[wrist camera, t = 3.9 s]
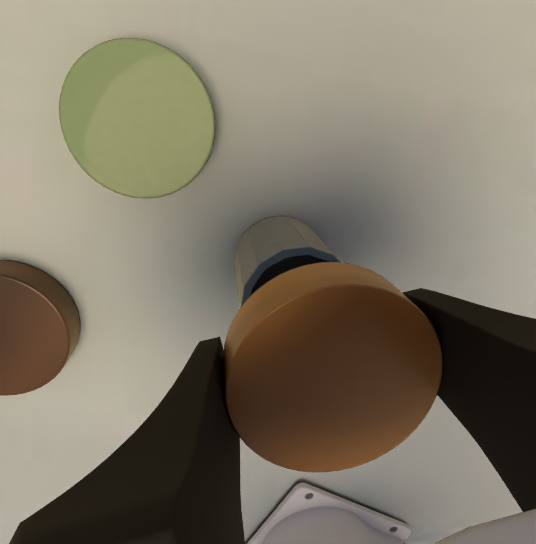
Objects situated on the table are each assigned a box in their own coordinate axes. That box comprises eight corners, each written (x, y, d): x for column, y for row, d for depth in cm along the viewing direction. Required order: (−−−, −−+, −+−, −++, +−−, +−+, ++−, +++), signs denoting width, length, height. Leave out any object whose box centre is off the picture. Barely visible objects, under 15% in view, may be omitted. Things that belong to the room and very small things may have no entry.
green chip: (240, 103, 17) (243, 101, 15) (173, 216, 18) (169, 225, 16) (112, 11, 15) (101, -1, 13) (48, 143, 16) (32, 146, 15)
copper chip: (452, 321, 12) (486, 350, 10) (338, 454, 13) (355, 498, 11) (298, 221, 10) (313, 239, 9) (185, 386, 11) (182, 426, 10)
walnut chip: (102, 299, 19) (93, 315, 17) (48, 393, 20) (35, 415, 19) (-32, 234, 17) (-55, 245, 15) (-81, 342, 18) (-107, 362, 17)
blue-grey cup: (338, 244, 19) (378, 283, 15) (288, 313, 20) (311, 370, 16) (266, 197, 18) (285, 224, 13) (217, 273, 19) (218, 323, 14)
